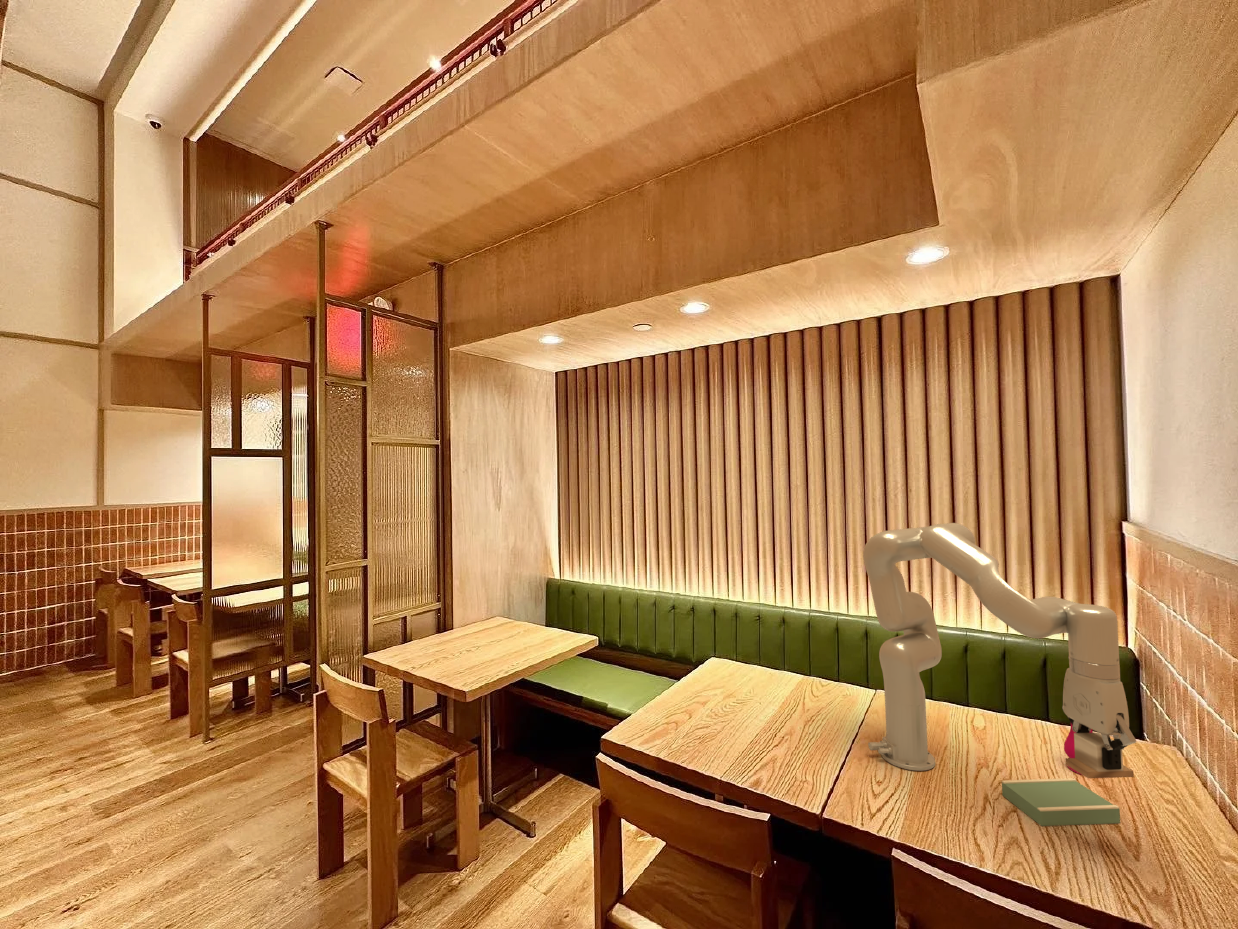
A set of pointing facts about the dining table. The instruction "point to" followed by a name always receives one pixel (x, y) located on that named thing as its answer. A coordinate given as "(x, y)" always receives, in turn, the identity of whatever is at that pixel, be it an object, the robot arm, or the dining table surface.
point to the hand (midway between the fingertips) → (1098, 760)
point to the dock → (1059, 802)
